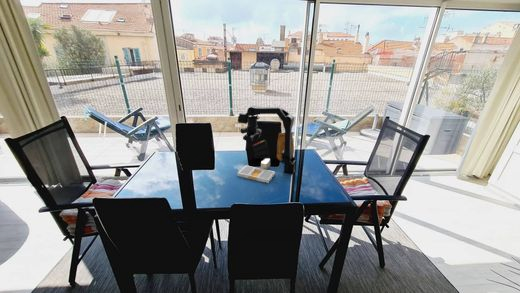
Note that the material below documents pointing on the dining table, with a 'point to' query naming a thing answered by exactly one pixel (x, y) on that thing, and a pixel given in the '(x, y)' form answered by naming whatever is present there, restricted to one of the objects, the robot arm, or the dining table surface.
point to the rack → (256, 173)
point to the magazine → (261, 150)
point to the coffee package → (283, 145)
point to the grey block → (265, 164)
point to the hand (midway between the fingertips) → (252, 145)
